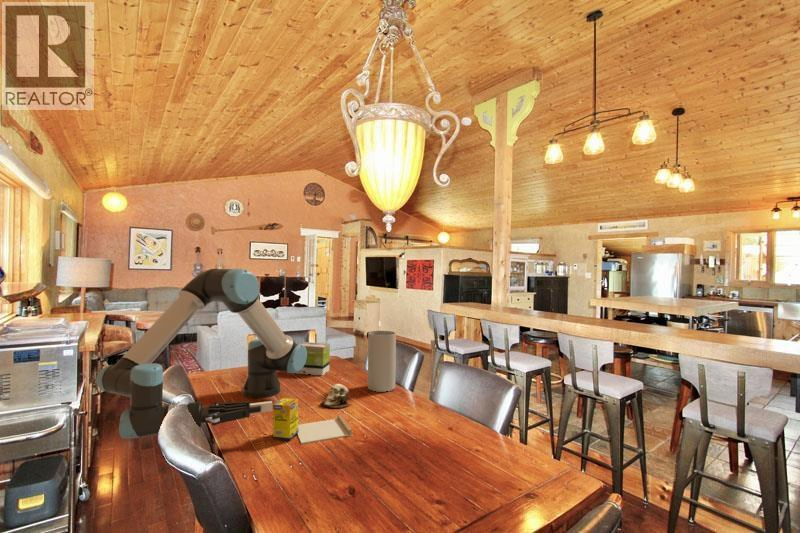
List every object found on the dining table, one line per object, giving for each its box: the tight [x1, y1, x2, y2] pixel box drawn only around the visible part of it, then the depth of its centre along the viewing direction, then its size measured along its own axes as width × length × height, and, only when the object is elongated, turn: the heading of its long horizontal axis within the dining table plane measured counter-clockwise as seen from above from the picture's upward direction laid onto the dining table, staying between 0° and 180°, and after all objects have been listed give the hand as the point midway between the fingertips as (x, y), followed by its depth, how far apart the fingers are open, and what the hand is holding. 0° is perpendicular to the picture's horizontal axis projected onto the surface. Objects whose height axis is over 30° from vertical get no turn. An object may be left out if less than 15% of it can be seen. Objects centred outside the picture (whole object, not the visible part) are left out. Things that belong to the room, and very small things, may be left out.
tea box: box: [296, 341, 331, 376], centre depth 195 cm, size 15×10×15 cm, turn 81°
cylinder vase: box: [367, 330, 397, 393], centre depth 172 cm, size 12×12×25 cm
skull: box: [321, 383, 351, 409], centre depth 152 cm, size 12×10×10 cm
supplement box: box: [272, 397, 300, 441], centre depth 121 cm, size 6×6×11 cm
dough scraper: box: [296, 414, 352, 445], centre depth 126 cm, size 16×14×2 cm
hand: (271, 406), depth 119 cm, fingers closed
